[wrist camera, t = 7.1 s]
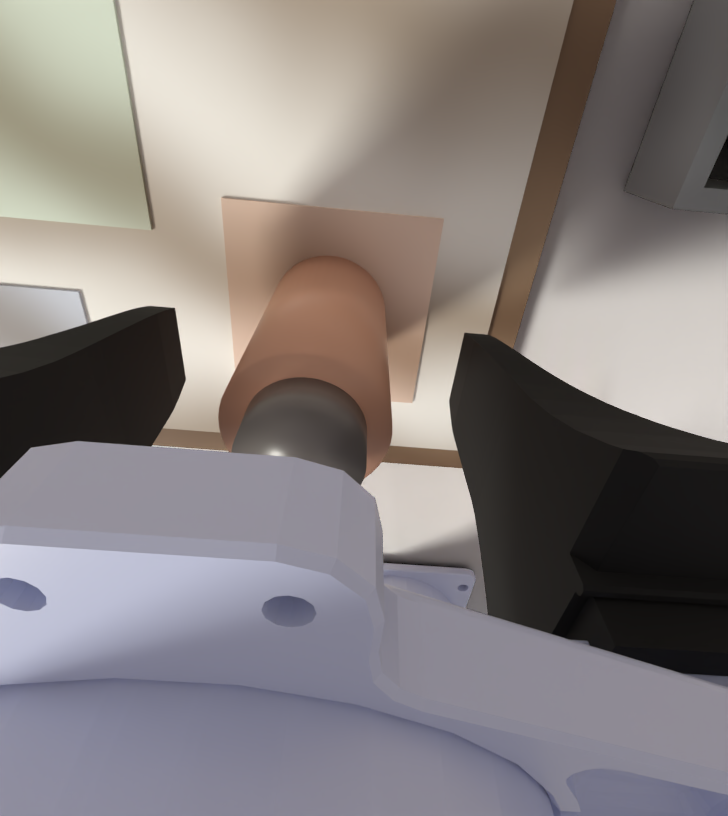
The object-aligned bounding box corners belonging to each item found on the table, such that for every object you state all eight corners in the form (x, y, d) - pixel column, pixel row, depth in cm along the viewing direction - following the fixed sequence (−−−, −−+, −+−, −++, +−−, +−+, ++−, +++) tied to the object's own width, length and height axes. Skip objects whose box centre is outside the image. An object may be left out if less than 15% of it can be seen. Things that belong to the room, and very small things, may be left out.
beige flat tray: (474, 459, 18) (478, 474, 18) (-69, 418, 18) (-88, 432, 17) (626, -70, 10) (646, -83, 9) (-399, -192, 9) (-466, -217, 8)
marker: (381, 363, 15) (387, 532, 9) (276, 359, 15) (216, 525, 9) (388, 258, 13) (403, 386, 7) (269, 252, 13) (186, 377, 7)
